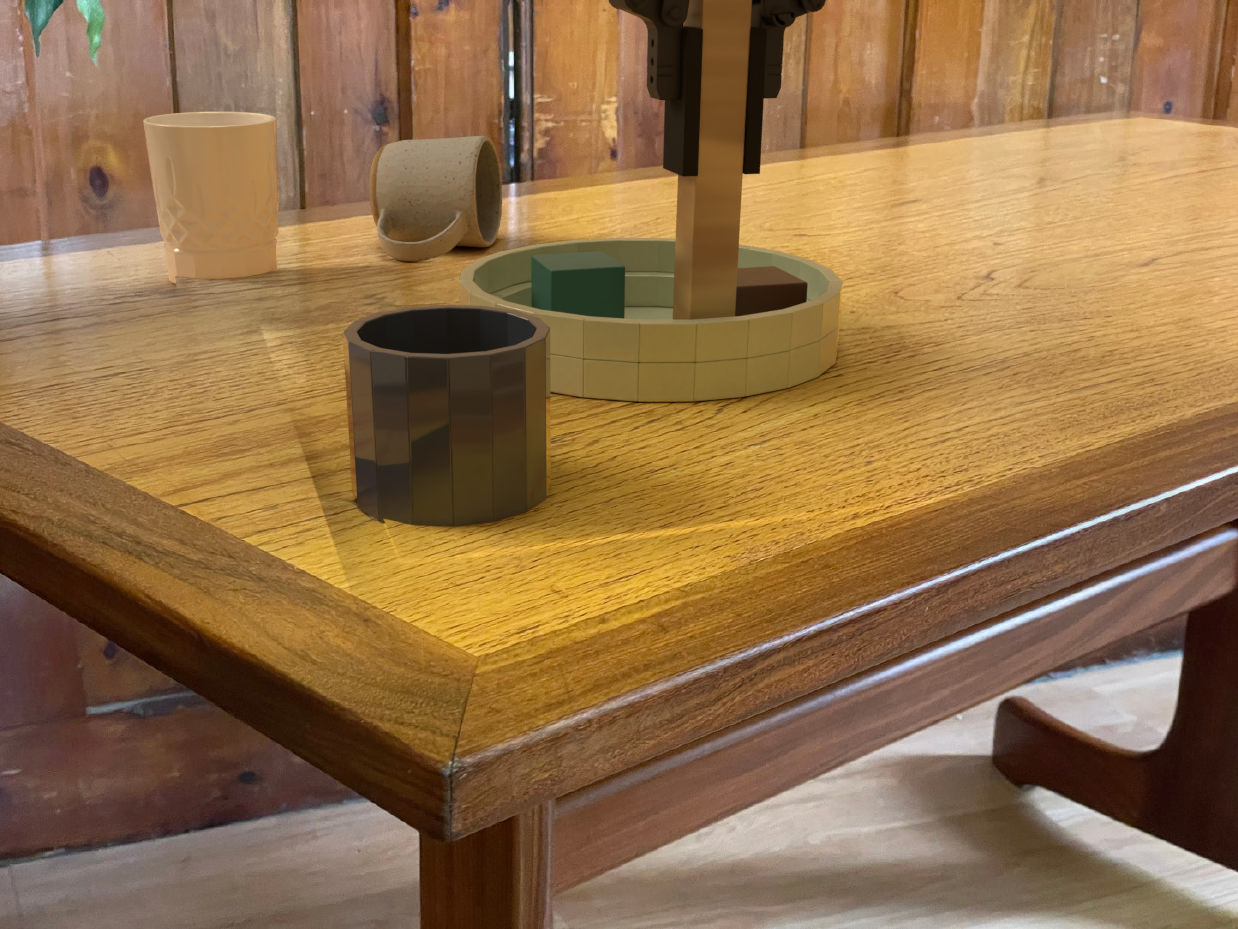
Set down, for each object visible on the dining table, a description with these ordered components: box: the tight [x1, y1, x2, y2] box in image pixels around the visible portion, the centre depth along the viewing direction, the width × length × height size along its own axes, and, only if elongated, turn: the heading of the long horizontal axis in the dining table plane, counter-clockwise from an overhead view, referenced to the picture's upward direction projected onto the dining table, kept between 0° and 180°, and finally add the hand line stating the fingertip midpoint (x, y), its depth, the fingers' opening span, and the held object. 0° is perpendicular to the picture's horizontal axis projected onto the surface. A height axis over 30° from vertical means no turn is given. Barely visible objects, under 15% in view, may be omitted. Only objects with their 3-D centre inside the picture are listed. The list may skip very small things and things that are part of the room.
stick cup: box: [342, 304, 552, 528], centre depth 51 cm, size 7×7×7 cm
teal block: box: [531, 251, 625, 319], centre depth 73 cm, size 4×4×4 cm
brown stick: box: [673, 0, 752, 320], centre depth 65 cm, size 2×2×20 cm
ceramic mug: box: [368, 135, 503, 263], centre depth 96 cm, size 11×8×8 cm
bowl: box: [458, 237, 844, 403], centre depth 71 cm, size 19×19×4 cm
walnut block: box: [735, 266, 808, 317], centre depth 70 cm, size 4×4×4 cm
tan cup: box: [142, 111, 279, 285], centre depth 86 cm, size 8×8×10 cm
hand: (711, 169), depth 65 cm, fingers closed on brown stick, 2 cm apart
